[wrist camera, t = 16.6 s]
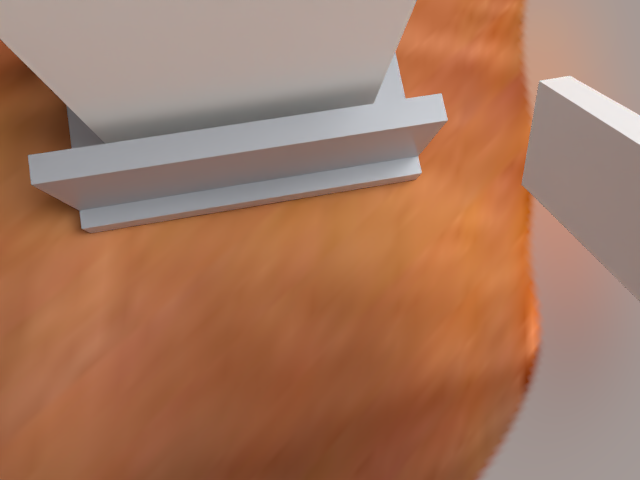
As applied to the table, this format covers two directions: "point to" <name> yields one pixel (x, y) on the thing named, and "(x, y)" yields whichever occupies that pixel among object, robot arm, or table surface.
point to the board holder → (240, 161)
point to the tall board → (203, 58)
